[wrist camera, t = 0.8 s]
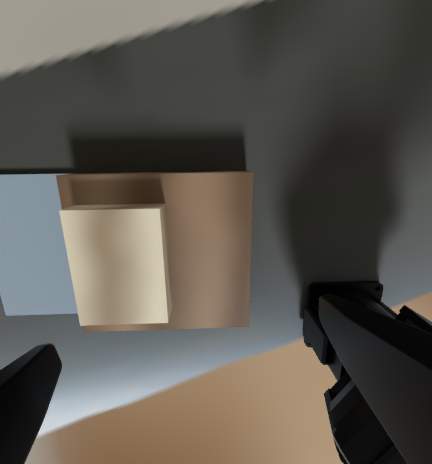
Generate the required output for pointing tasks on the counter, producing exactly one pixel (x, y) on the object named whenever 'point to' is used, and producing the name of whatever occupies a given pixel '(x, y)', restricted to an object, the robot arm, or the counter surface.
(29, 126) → the counter surface
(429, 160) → the counter surface
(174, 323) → the plate
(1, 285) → the mat
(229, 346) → the counter surface
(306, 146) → the counter surface
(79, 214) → the tile
